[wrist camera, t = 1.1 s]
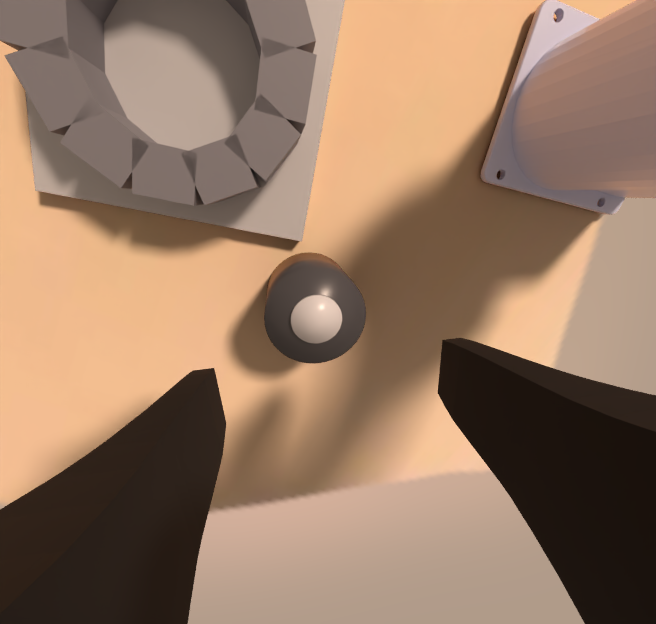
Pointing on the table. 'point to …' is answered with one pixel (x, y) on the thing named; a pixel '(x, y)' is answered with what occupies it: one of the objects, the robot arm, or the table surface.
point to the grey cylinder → (313, 309)
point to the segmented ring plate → (178, 103)
